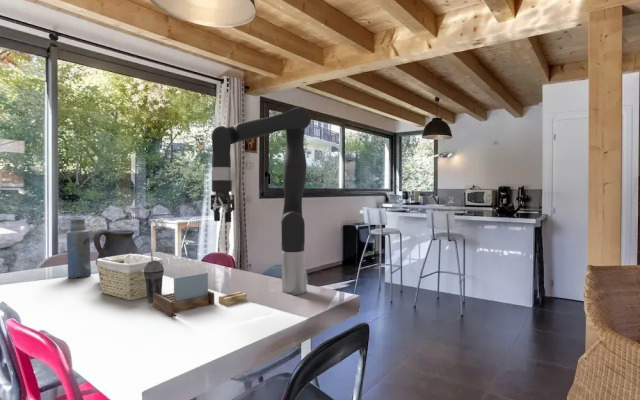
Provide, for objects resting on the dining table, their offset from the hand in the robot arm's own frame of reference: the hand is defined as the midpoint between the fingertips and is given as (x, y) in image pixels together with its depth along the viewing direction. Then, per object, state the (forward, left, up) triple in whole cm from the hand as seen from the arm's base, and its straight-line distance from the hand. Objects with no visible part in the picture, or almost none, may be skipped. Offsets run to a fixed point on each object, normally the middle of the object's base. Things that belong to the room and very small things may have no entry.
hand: (222, 221), depth 144 cm
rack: (+15, -2, -30) cm, 34 cm away
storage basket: (+23, -36, -30) cm, 52 cm away
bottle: (+31, -88, -30) cm, 98 cm away
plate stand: (+1, +8, -30) cm, 31 cm away
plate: (+14, +2, -29) cm, 32 cm away
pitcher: (+19, -65, -30) cm, 74 cm away
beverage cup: (+20, -17, -30) cm, 40 cm away
